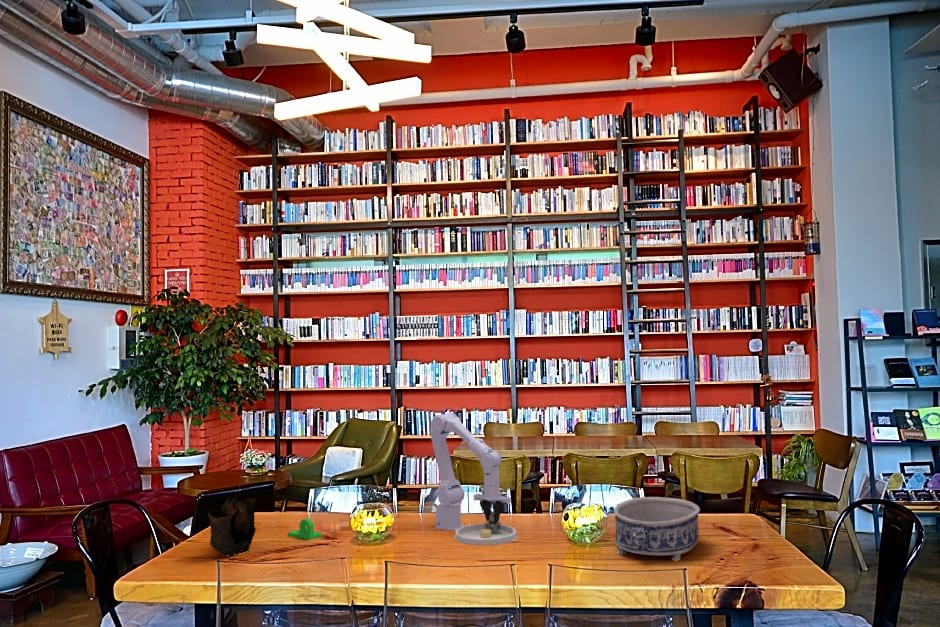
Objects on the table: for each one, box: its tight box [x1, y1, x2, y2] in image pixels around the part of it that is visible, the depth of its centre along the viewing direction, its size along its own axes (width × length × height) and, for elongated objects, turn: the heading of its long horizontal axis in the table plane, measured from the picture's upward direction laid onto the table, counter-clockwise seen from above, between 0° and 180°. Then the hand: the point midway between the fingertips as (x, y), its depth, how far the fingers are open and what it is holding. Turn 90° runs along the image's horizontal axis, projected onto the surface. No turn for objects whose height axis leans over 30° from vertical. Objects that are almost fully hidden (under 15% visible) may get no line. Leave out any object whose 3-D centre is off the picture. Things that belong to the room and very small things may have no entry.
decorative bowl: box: [613, 496, 701, 562], centre depth 245 cm, size 42×27×15 cm, turn 151°
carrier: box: [454, 523, 518, 546], centre depth 265 cm, size 23×23×3 cm
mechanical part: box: [287, 517, 323, 541], centre depth 271 cm, size 12×6×8 cm, turn 54°
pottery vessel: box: [207, 496, 259, 556], centre depth 252 cm, size 25×11×20 cm, turn 170°
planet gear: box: [484, 512, 501, 530], centre depth 270 cm, size 6×6×6 cm
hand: (492, 521), depth 270 cm, fingers closed on planet gear, 3 cm apart
